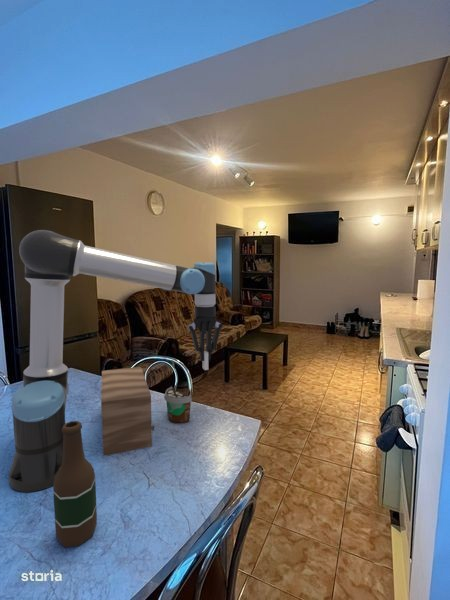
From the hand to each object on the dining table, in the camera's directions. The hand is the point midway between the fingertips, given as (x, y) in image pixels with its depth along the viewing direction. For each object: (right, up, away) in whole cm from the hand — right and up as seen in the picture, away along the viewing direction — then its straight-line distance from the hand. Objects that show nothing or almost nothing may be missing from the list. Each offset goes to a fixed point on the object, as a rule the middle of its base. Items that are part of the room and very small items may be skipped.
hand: (205, 368), depth 115 cm
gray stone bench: (-22, -18, -6) cm, 29 cm away
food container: (-11, -18, -2) cm, 21 cm away
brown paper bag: (-27, -19, -8) cm, 34 cm away
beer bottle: (-24, -24, -50) cm, 60 cm away
